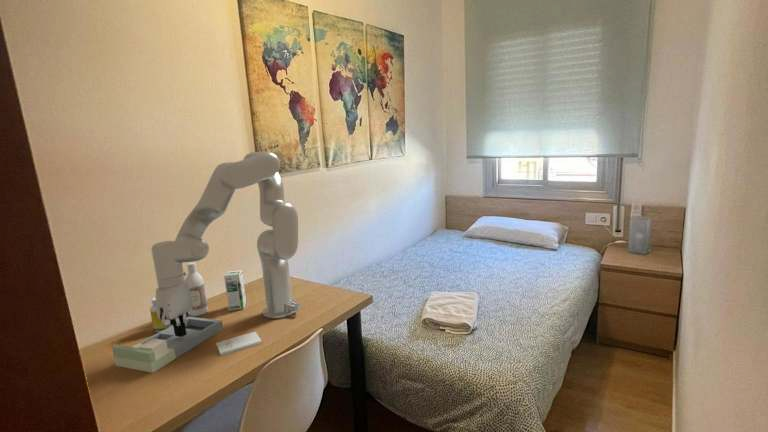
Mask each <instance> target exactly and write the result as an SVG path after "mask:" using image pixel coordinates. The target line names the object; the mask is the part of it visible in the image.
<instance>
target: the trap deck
mask: <svg viewBox="0 0 768 432" xmlns="http://www.w3.org/2000/svg"><path fill="white" fill-rule="evenodd" d="M185 327H186V333H187V334H186V335H184V336H183V337H178V336H175V333H174V327H173V325H172V326H170V327H169V328H167V329H165V330H163V331H161V332H156V333H155V334H154V335H152V336H150V337H148V338H145V339H143V340H142V341H140V342H139V343H137V344H135V345H133V346H127V345H121V344H116V345H114V346H112V348H111V349H112V353H113V357H114V363H115V367H120V368H121V367H122V368H127V369H131V370H136V371H142V372H146V373H151V374H153V373H156V372H157V371H158V370H159V369H161V368H163V367H165V366H166V365H168V364H169V363H171V362H172V361H174V360H176V359H177V358H179V357H181V356H182V355H184V354H185V353H187V352H188V351H190V350H192V349H193V348H194V347H197V346H198V345H200V344H201V343H202V342H204V341H206V340H207V339H209V338H211V337H213V336H214V335H215V334H217V333H218V332H220V331H222V330H223V329H224V326H223V320H220V319H211V318H203V317H197V316H187V318H186V322H185ZM153 338H154V339H162V340H166V342H167V348H168V351H167V352H165V353H164V354H162V355H160V356H159V357H157V358H156V359H155V354H154V351H152V350H146V349H140V348H139V346H141V345H142V344H144V343H146V342H148V341H150V340H151V339H153Z"/></svg>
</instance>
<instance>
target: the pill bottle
mask: <svg viewBox="0 0 768 432" xmlns="http://www.w3.org/2000/svg"><path fill="white" fill-rule="evenodd" d="M151 304H152V305H151V307H150V309H149V311H150V312H149V313H150V318H151V322H152V327H153V331H154V332H156V333H159V332H161V331H163V330H165V329H167V328H169V327H170V326H172V325H171V324H168V325H162V319H158V316H157V310H156V296H155V297H152V298H151Z"/></svg>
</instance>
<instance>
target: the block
mask: <svg viewBox="0 0 768 432" xmlns="http://www.w3.org/2000/svg"><path fill="white" fill-rule="evenodd" d="M139 348H140V349H146V350H152V351H154V354H155V359H156V358H157V357H159V356H160V355H162V354H164V353H165V352H167V351H168V348H167V342H166V340H162V339H154V338H153V339H151V340H150V341H148V342H146V343H144V344H142V345H141V346H139Z"/></svg>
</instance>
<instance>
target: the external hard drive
mask: <svg viewBox="0 0 768 432" xmlns="http://www.w3.org/2000/svg"><path fill="white" fill-rule="evenodd" d="M215 344H216V345H215V346H216V348H217V350H218V353H219V356H225V355H229V354H231V353H235V352H238V351H242V350H245V349H249V348H251V347H254V346H258V345H261V344H262V339H261V338H260V337H259V335H258V333H257V332H256V331H253V332H249V333H246V334H242V335H238V336H235V337H231V338H229V339H225V340H222V341H219V342H215Z"/></svg>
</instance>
